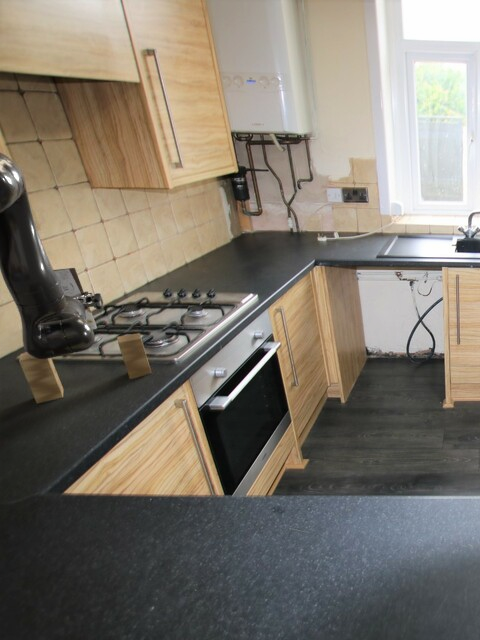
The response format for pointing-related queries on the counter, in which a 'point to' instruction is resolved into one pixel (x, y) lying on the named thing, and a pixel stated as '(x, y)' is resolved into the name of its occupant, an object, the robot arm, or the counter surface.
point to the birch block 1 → (41, 378)
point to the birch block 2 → (134, 355)
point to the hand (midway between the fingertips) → (65, 298)
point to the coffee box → (73, 289)
